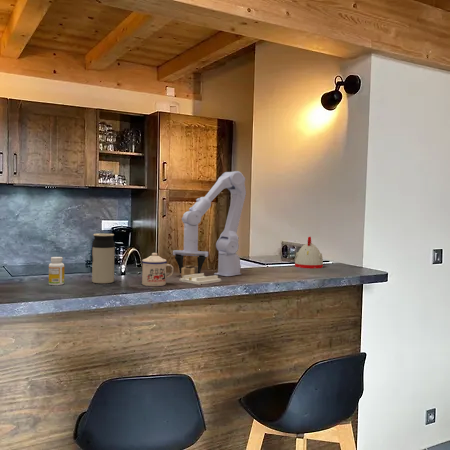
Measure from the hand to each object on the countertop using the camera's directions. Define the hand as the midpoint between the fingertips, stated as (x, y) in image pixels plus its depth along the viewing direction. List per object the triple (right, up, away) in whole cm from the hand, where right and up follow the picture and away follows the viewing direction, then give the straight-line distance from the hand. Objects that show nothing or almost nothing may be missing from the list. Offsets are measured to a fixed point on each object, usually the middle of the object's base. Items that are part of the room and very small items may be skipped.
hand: (190, 273), depth 202 cm
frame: (0, -1, 0) cm, 1 cm away
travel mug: (-31, -2, -18) cm, 36 cm away
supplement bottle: (-46, -2, -25) cm, 53 cm away
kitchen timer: (+56, -1, +44) cm, 71 cm away
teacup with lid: (-11, -2, -20) cm, 23 cm away
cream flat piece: (+5, -2, -11) cm, 12 cm away
